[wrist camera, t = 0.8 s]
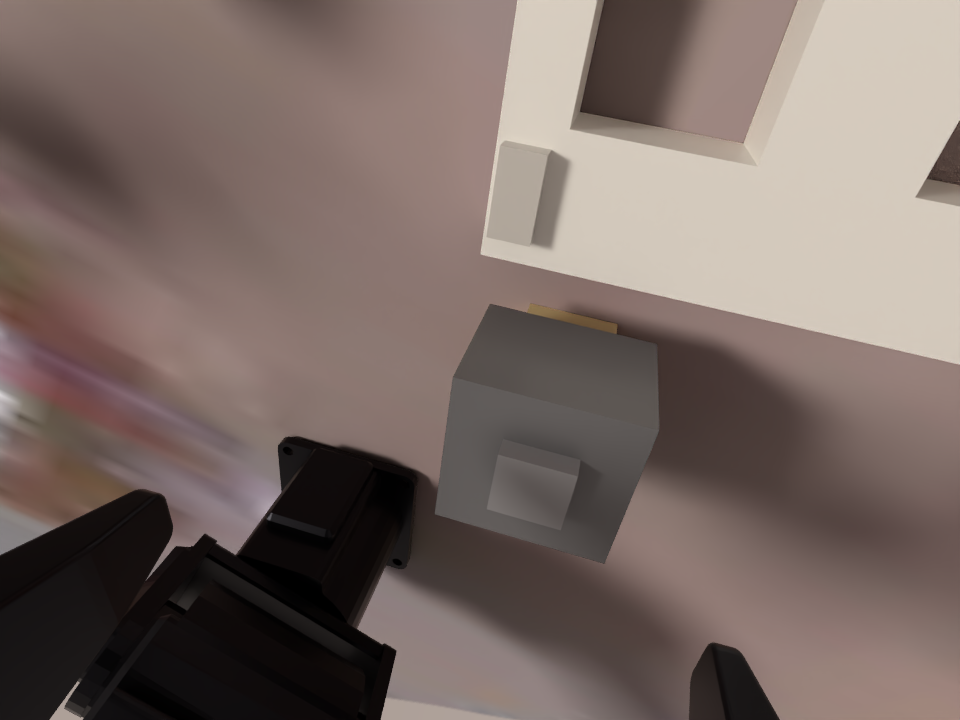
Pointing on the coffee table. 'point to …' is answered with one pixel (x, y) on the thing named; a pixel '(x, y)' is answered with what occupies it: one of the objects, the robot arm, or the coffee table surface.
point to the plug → (549, 429)
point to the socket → (751, 177)
